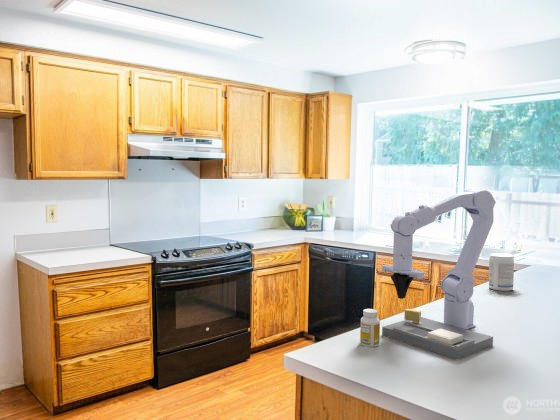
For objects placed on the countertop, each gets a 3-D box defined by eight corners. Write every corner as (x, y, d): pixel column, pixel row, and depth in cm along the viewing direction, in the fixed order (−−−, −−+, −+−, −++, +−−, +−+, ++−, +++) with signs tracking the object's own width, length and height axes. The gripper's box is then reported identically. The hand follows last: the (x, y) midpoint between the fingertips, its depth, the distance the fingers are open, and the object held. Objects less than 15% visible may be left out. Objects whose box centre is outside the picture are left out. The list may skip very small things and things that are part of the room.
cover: (440, 334, 138) (440, 328, 137) (462, 340, 132) (462, 334, 132) (427, 338, 134) (427, 332, 134) (450, 345, 128) (450, 339, 128)
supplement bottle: (376, 340, 140) (377, 307, 139) (381, 347, 134) (382, 313, 134) (358, 340, 140) (359, 307, 139) (362, 347, 134) (362, 313, 134)
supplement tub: (516, 289, 206) (518, 255, 205) (508, 292, 199) (509, 257, 198) (493, 285, 213) (494, 252, 212) (484, 288, 206) (485, 254, 205)
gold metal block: (420, 322, 149) (421, 310, 148) (418, 324, 147) (419, 312, 147) (406, 320, 151) (406, 308, 151) (404, 321, 149) (404, 310, 149)
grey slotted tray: (418, 323, 156) (418, 313, 156) (492, 345, 137) (493, 333, 136) (382, 334, 145) (382, 323, 145) (457, 360, 125) (457, 346, 125)
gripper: (375, 252, 152) (375, 295, 153) (414, 259, 141) (413, 305, 142) (390, 250, 156) (389, 292, 157) (428, 256, 145) (427, 301, 146)
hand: (401, 298), depth 150 cm, fingers closed
